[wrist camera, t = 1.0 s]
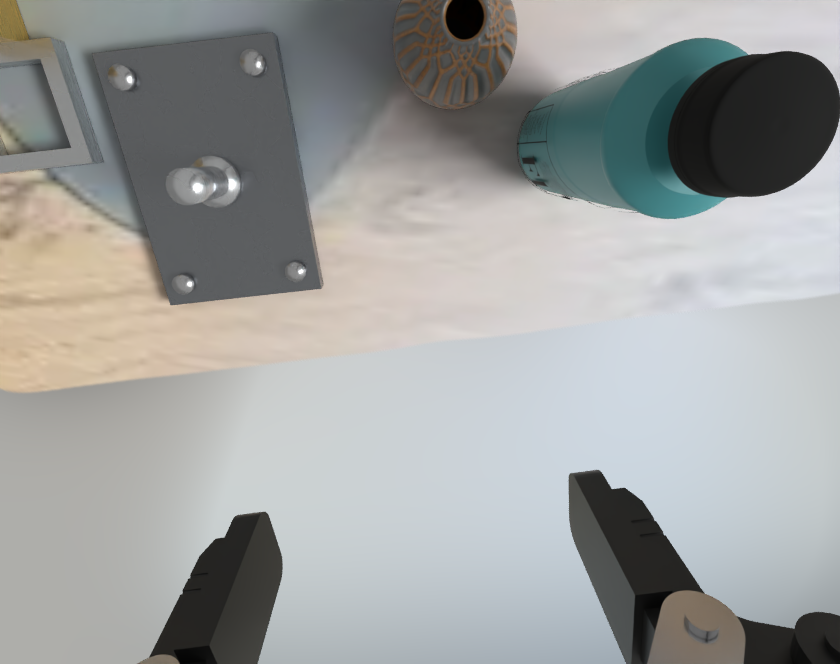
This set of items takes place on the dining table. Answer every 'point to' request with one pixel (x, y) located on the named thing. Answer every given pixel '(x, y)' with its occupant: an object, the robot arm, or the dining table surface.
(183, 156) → the toggle switch
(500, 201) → the dining table surface
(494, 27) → the vase
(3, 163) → the end link
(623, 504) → the robot arm
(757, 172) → the beverage bottle
